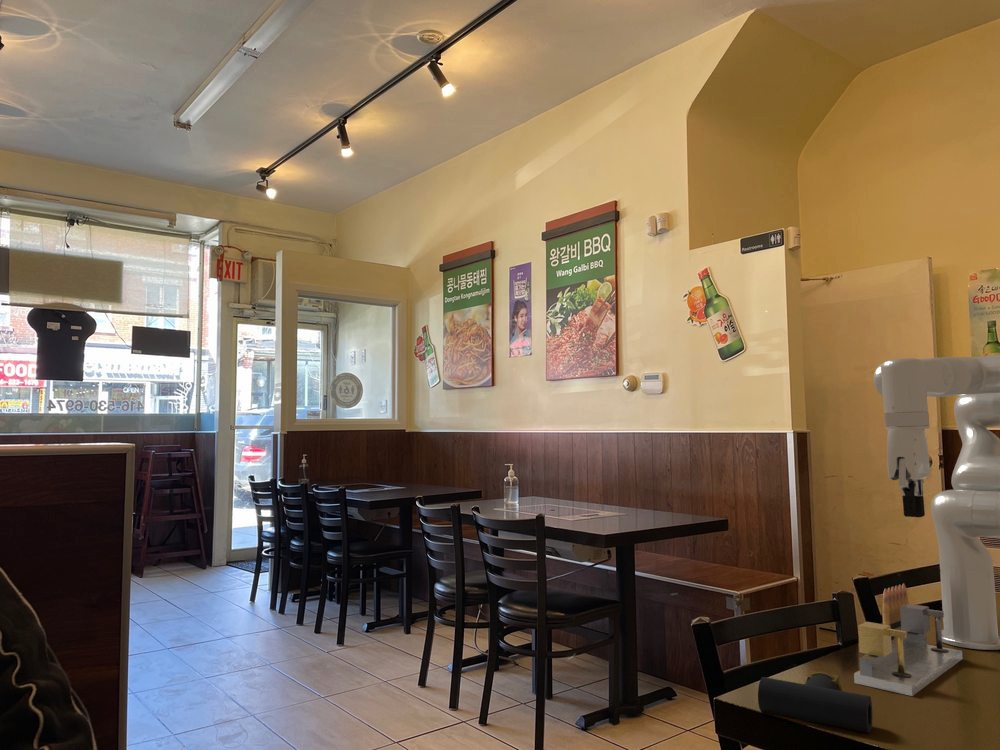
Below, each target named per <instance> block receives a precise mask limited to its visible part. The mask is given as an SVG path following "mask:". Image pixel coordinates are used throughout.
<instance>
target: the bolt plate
mask: <svg viewBox="0 0 1000 750" xmlns="http://www.w3.org/2000/svg"><path fill="white" fill-rule="evenodd" d="M927 634H928V633H925V634H919V633H913V632H907V638H903V651H904V668H905V674H901V673H898V661H897V644H896V639H894V640H892V641H891V645H892V653H890V654H888V655H887V656H885V657H881V656H876V655H871V654H866V653H865V654H864V655H862V656H861V657H859V658H858V659H859V661H858V662H859V670H858V671H856V672H854V673H853V678H854V679H853V680H854V682H853V683H854V684H856V685H862V686H866V687H870V688H875V689H879V690H884V691H888V692H892V693H896V694H901V695H906V696H910V697H913V696H915V695H916V694H917V693H919V692H920V691H921V690H923V689H924V688H925V687H927V686H928V685H930V683H933V682H934V681H935V680H937V679H938V678H939V677H940V676H942V675H944V673H946V672H947V671H948V670H950V669H951V668H953V667H954V666H956V665H957V664H958V663H959V662H961V661H962V660H963V658H964V657H963V650H961V649H955V648H949V647H943V649H938V648H937V646H936V645H933V644H928V637H927V636H928V635H927Z"/></svg>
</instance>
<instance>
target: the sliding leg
mask: <svg viewBox="0 0 1000 750" xmlns="http://www.w3.org/2000/svg"><path fill="white" fill-rule="evenodd" d="M857 629H858V630H857V633H858V649H859V650H858V651H859V653H861V654H865V655H866V654H871V655H876V656H881V657H885V656H887V655H888V654H890V653H892V645H891V636H894V637H896V644H897V661H898V673H901V674H905V668H904V651H903V638H907V633H906V631H901V630H895V629H891V627H890V625H884V624H881V623H877V622H871V621H864V622H862V623H860V624H858V625H857Z"/></svg>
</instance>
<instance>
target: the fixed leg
mask: <svg viewBox="0 0 1000 750" xmlns="http://www.w3.org/2000/svg"><path fill="white" fill-rule="evenodd" d="M930 616H931V617H934V626H935V627H934V628H935V640H936V641H935V643H936V645H935V646H937V648H938V649H943V642H942V630H943V629H942V620H941V619H943V617H944V611H943V610H942V611H941V610H938V609H937V610H935V609H930V606H926V605H918V604H913V603H909V604H905V605H902V606H900V617H901V631H907V632H913V633H919V634H925V633H926V634H928V633H929V632H931V622H930Z"/></svg>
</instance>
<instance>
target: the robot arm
mask: <svg viewBox="0 0 1000 750" xmlns="http://www.w3.org/2000/svg"><path fill="white" fill-rule="evenodd" d="M872 378H873V379H872V380H873V385H874V388H875V390H876V391H877V392H878V393H879V395H880V396H882V398H883V399H882V401H883V402H882V403H883V412H884V415H883V416H884V426H885V430H887V439H886V454H887V455H886V457H887V458H886V460H887V461H886V462H887V477H888V479H889V480H890V481H897V480H898V487H899V488H900V491H901V495H902V497H901V498H902V504H903V505H902V507H903V516H904V517H907V518H923V517H924V516H925V515H926V513H925V511H926V510H925V502H924V501H925V500H924V483H925V479H927V478H929V476H930V472H931V471H930V468H931V466H930V456H929V448H928V447H929V446H928V440H927V435H926V429H931V427H930V418H929V417H930V416H929V415H930V414H929V405H928V397H934V398H936V397H955V396H958V397H957V398H956V400H955V401H954V405H953V414H954V419H955V423H956V427H957V431H958V435H959V437H960V439H961V443H962V444H961V445H962V446H961V449H960V453H959V455H958V458H957V460H956V463H955V465H954V469H953V471H952V475H951V483H950V484H951V486H952V489H946V490H943V491H939V492H938V493H937V494H935V495H934V496H933V498H932V499H931V504H930V511H931V512H930V513H931V517H932V521H933V525H934V528H935V534H936V539H937V545H938V554H939V555H938V556H939V557H938V558H939V560H938V561H939V570H940V571H939V574H940V587H941V590H940V591H941V604H942V605H941V606H942V607H941V609H942V611H944V617H943V618H942V621H943V629H941V630H942V643H944V644H947V645H951V646H955V647H958V648H965V649H971V650H980V651H982V650H984V651H998V650H1000V635H999V630H998V617H997V614H998V613H997V602H996V601H997V600H996V589H995V588H996V587H995V586H996V585H995V573H994V560H993V556H992V555H991V553H990V551H989V550H988V548H987V547H986V546H985V545H984V544H983V542H982V541H981V540H980V539H979V538H990V539H991V538H993V539H994V538H995V539H1000V438H999V436H997V435H996V434H995V433H993V432H992V431H990V430H989V429H988V428H1000V354H999V353H998V354H991V355H988V354H987V355H980V356H979V355H978V356H960V357H959V356H945V357H943V356H941V357H929V358H928V357H927V358H914V357H909V358H908V357H907V358H906V357H905V358H904V357H903V358H894V359H889V360H886V361H884V362H882V363H880V364H879V365H878V366H877V367H876V369H875V370H874V373H873V377H872Z"/></svg>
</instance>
